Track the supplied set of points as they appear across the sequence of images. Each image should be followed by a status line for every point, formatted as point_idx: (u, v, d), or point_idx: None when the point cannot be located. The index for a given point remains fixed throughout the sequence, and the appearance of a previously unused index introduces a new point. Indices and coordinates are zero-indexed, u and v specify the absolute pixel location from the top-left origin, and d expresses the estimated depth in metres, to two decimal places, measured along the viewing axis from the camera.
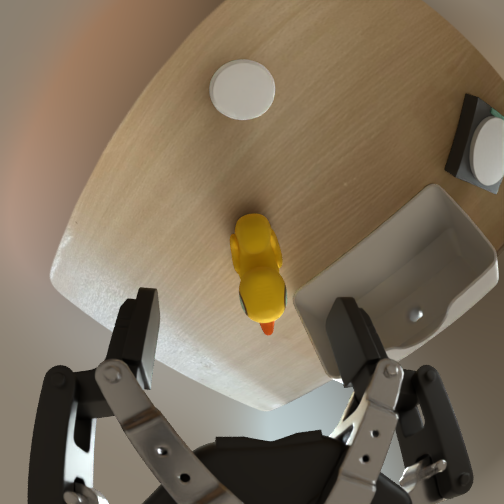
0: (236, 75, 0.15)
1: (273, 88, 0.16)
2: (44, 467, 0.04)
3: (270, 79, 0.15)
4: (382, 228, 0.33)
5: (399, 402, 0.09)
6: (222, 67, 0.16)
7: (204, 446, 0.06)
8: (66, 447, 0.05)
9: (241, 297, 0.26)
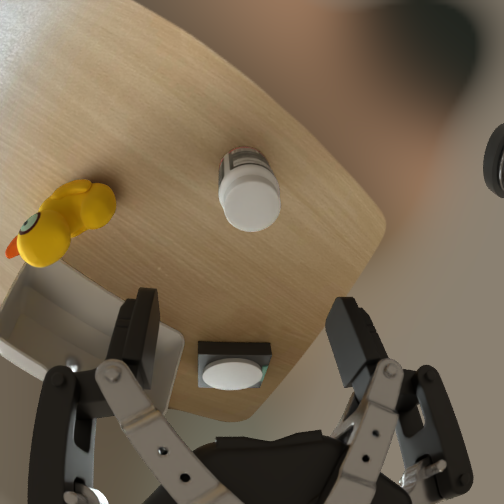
0: (268, 201, 0.19)
1: (255, 230, 0.21)
2: (44, 467, 0.04)
3: (263, 227, 0.21)
4: None
5: (399, 402, 0.09)
6: (273, 178, 0.21)
7: (204, 446, 0.06)
8: (66, 447, 0.05)
9: (36, 222, 0.18)
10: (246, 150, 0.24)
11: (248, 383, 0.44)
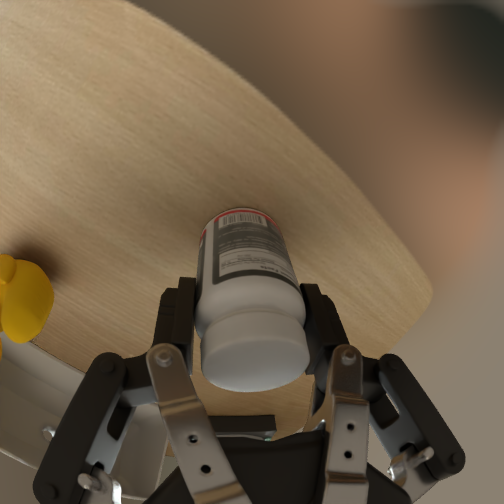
0: (286, 361, 0.09)
1: (260, 390, 0.11)
2: (67, 445, 0.05)
3: (275, 387, 0.11)
4: None
5: None
6: (296, 301, 0.11)
7: None
8: (97, 432, 0.06)
9: None
10: (245, 221, 0.14)
11: None
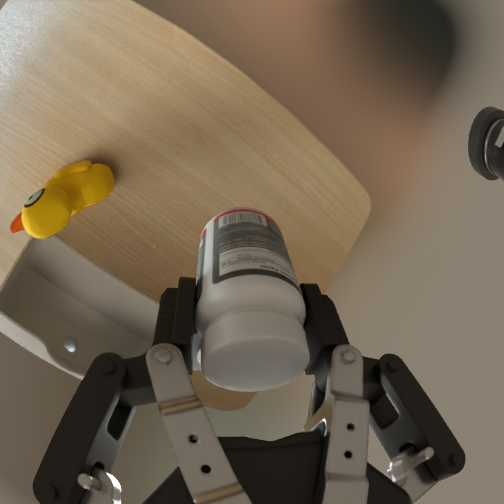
0: (286, 360, 0.09)
1: (260, 390, 0.11)
2: (67, 445, 0.05)
3: (275, 386, 0.11)
4: (125, 286, 0.37)
5: None
6: (296, 300, 0.11)
7: None
8: (97, 432, 0.06)
9: (40, 195, 0.20)
10: (245, 220, 0.14)
11: None
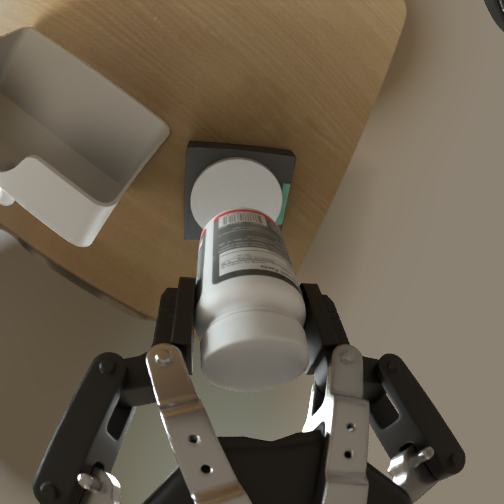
0: (286, 361, 0.09)
1: (260, 390, 0.11)
2: (67, 445, 0.05)
3: (275, 387, 0.11)
4: (105, 81, 0.22)
5: None
6: (296, 301, 0.11)
7: None
8: (97, 432, 0.06)
9: None
10: (245, 221, 0.14)
11: None
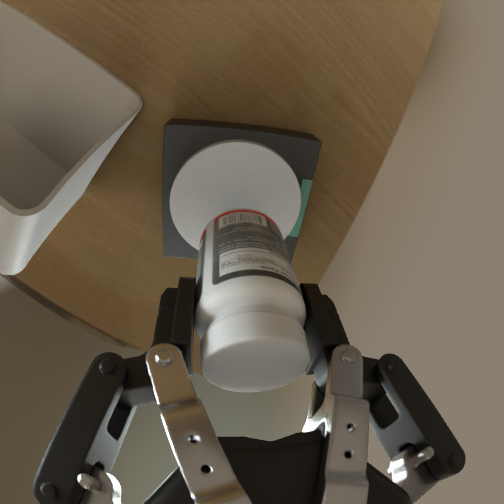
0: (286, 361, 0.09)
1: (260, 390, 0.11)
2: (67, 445, 0.05)
3: (275, 387, 0.11)
4: (63, 44, 0.13)
5: None
6: (296, 301, 0.11)
7: None
8: (97, 432, 0.06)
9: None
10: (245, 221, 0.14)
11: None
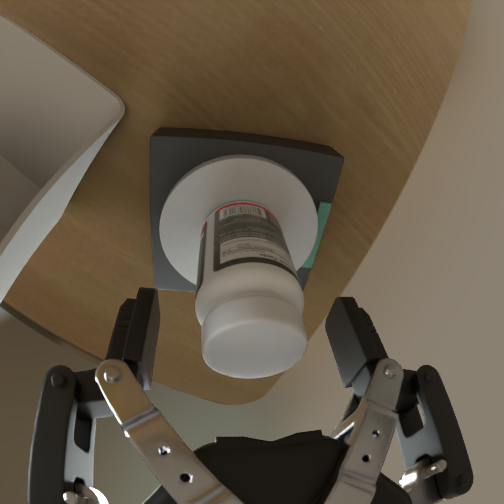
0: (285, 345, 0.10)
1: (259, 377, 0.11)
2: (44, 467, 0.04)
3: (274, 373, 0.11)
4: (34, 42, 0.10)
5: (399, 402, 0.09)
6: (294, 288, 0.11)
7: (204, 446, 0.06)
8: (66, 447, 0.05)
9: None
10: (245, 213, 0.14)
11: None
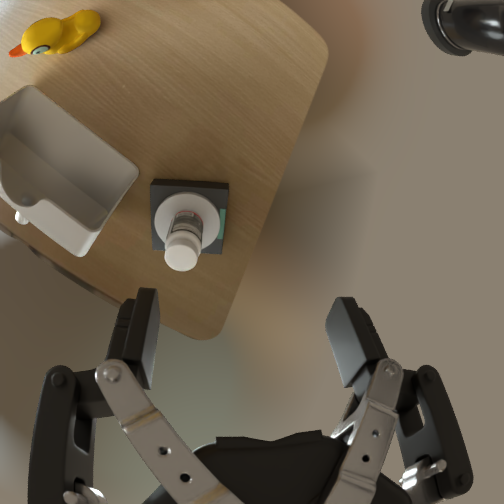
0: (189, 255, 0.33)
1: (184, 270, 0.34)
2: (44, 467, 0.04)
3: (189, 269, 0.34)
4: (91, 134, 0.33)
5: (399, 402, 0.09)
6: (194, 238, 0.34)
7: (204, 446, 0.06)
8: (66, 447, 0.05)
9: None
10: (185, 215, 0.37)
11: (205, 238, 0.42)
